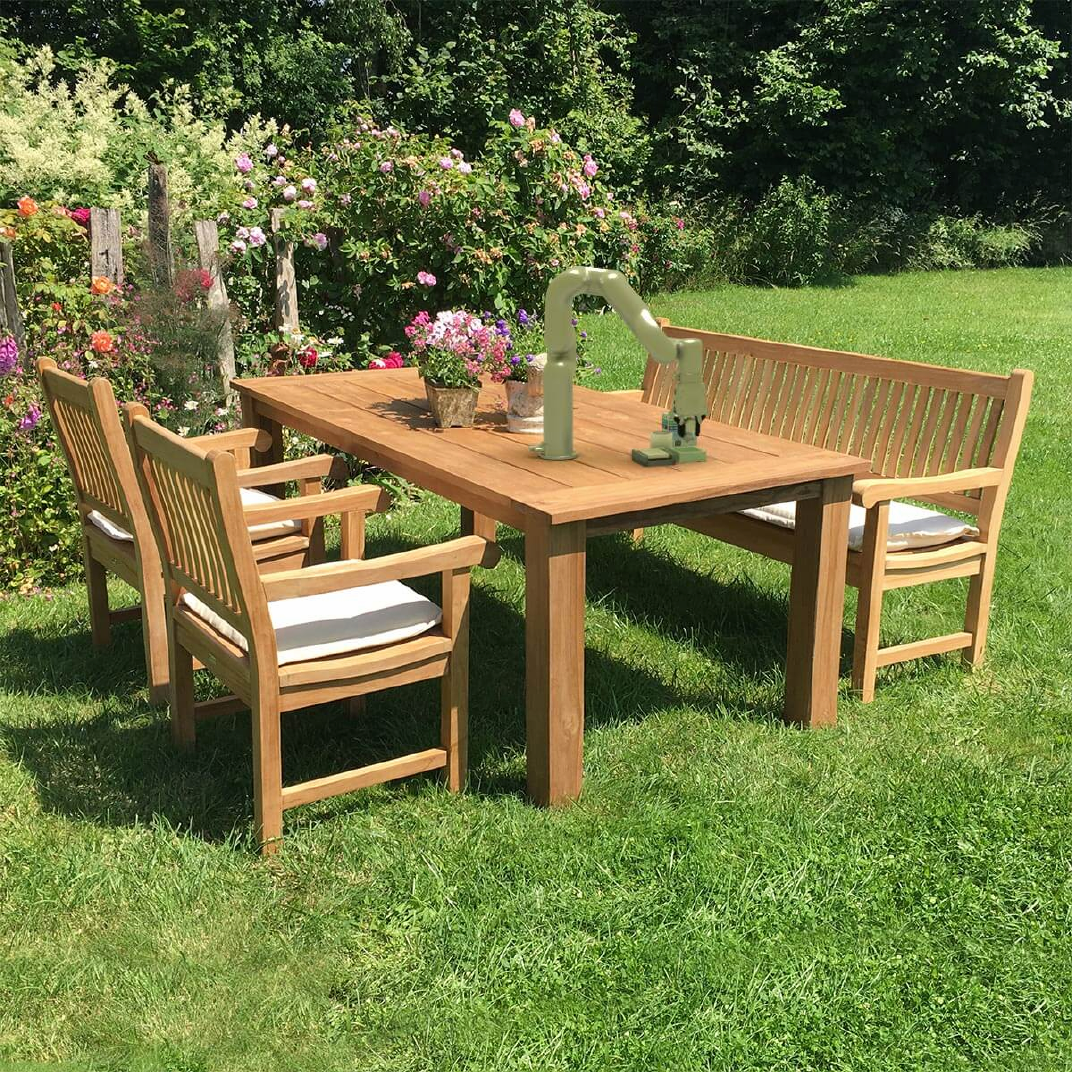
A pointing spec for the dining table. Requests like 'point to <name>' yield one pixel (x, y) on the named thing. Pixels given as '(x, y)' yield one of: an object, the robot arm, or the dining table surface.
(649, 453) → the checker pad
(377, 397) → the dining table surface
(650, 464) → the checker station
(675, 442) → the light bulb box
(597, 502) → the dining table surface
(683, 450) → the tray
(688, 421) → the cell
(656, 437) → the ceramic cup
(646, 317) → the robot arm
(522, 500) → the dining table surface
